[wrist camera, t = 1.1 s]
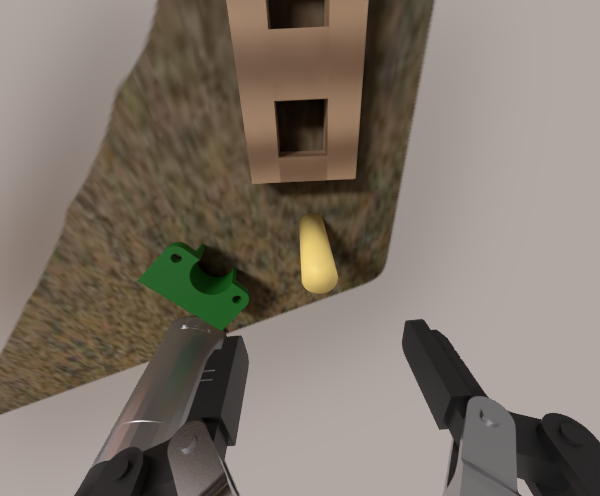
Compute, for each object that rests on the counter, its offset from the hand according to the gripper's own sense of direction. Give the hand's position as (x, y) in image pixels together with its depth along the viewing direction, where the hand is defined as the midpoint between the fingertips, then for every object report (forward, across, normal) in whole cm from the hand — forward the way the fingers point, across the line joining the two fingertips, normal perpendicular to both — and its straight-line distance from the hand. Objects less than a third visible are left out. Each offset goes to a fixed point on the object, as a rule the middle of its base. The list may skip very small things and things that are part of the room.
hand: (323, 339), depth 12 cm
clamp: (+20, +14, +7) cm, 25 cm away
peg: (+19, -1, +2) cm, 19 cm away
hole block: (+19, -1, -13) cm, 23 cm away
